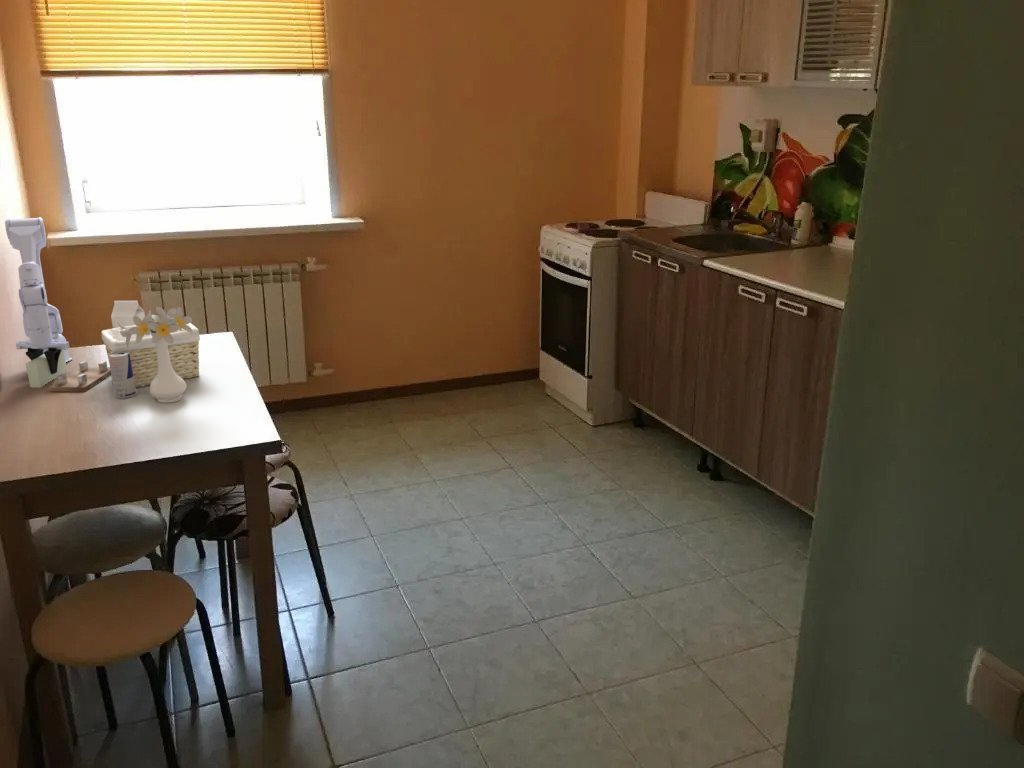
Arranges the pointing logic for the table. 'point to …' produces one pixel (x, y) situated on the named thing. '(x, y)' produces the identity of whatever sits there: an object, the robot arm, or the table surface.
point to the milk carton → (126, 313)
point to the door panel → (44, 370)
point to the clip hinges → (82, 378)
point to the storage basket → (145, 353)
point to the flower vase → (161, 349)
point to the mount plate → (72, 380)
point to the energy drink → (122, 375)
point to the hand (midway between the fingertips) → (48, 372)
